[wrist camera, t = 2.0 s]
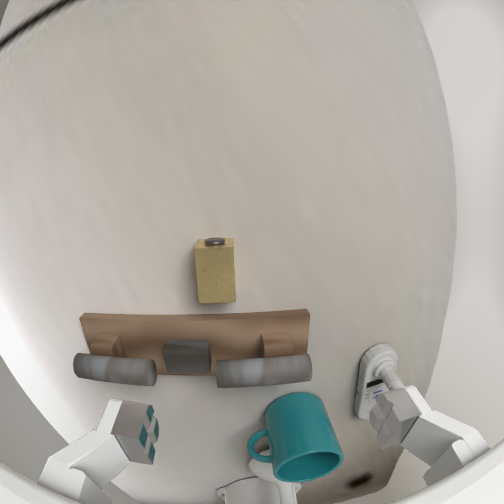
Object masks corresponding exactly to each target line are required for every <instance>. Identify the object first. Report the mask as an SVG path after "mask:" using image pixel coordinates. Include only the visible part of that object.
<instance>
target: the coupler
mask: <svg viewBox="0 0 504 504" xmlns="http://www.w3.org/2000/svg"><path fill="white" fill-rule="evenodd" d="M194 255H195V267H196V278H197V288H198V298H199V303H227V302H236V293H235V270H234V246H233V238H209V239H199V240H198V242H197V244H196V246H195V248H194Z"/></svg>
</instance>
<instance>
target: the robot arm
mask: <svg viewBox="0 0 504 504" xmlns="http://www.w3.org/2000/svg"><path fill="white" fill-rule="evenodd" d="M376 402H377V404H375V405H374V406H373V407H372V409H371V411H370V417H369V420H370V424H371V426H372V429H374V430H375V431H377V432H378V434H377V439H378V442H379V444H380V446H381V448H382V449H385V448H388V447H392V446H395V445H398V444H400V445H401V446H402V447H404V448H405V449H407V450H408V451H409V452H411V453H412V454H414V455H415V456H417V457H418V458H419V459H421V460H422V461H424V462H425V463H427V464H428V465H430V466H431V468H430V469H429V470H428V471H427V472H426V473H425V474H424V477H423V478H424V480H425V481H426V484H427V486H428V487H425V488H423V489H421V490H419V491H417V492H415V493H412V494H410V495H408V496H405V497H403V498H400V499H398V500H395V501H393V502H390V503H388V504H504V439H503V440H502V441H501V442H499V443H498V444H497V445H495V446H494V447H493V448H491V449H490V448H489V446H488V445H487V443H486V442H485V441H484V439H483V438H482V436H481V435H480V433H479V432H478V431H477V430H476V429H475V428H473V427H470V426H468V425H466V424H464V423H461V422H459V421H457V420H455V419H452V418H450V417H448V416H446V415H444V414H442V413H439V412H437V411H436V410H434V411H432V410H431V409H430V407H429V406H428V404H427V403H426V401H425V400H424V399H423V397H422V396H421V394H420V393H419V392H418V390H417V389H416V387H415V386H413V385H411V386H407V387H403V388H399V389H395V390H391V391H387V392H383V393H380V394H379V395H377V398H376ZM153 413H154V410H153V407H152V405H149V404H142V403H136V402H130V401H125V400H119V399H114V398H111V399H110V400H109V402H108V404H107V406H106V409H105V411H104V413H103V416H102V418H101V420H100V423H99V425H98V428H97V430H92V431H90V432H89V433H87V434H85V435H84V436H82V437H81V438H79V439H78V440H76V441H75V442H73V443H71V444H70V445H69V446H67V447H65V448H64V449H62V450H60V451H58V452H57V453H55V454H54V455H52V456H50V457H49V458H48V460H47V463H46V465H45V467H44V470H43V472H42V474H41V477H40V479H39V482H38V484H37V483H35V482H33V481H31V480H29V479H27V478H25V477H24V476H22V475H20V474H18V473H16V472H15V471H13V470H12V469H10V468H9V467H7V466H5V465H4V464H2V463H1V462H0V504H112V501H111V499H110V498H109V497H108V496H107V495H106V494H105V493H103V491H102V490H101V489H102V488H103V487H105V486H106V485H107V484H108V483H109V482H110V481H111V480H112V479H113V478H114V477H115V476H117V475H118V474H119V473H120V472H121V471H122V470H123V469H124V468H125V467H126V466H127V465H128V464H129V463H130V461H132V462H138V463H144V464H151V465H152V464H153V459H154V454H155V449H154V447H153V444H154V443H156V442H157V440H158V435H159V426H158V421H157V418H155V417H154V416H153ZM301 487H302V486H301V483H292V492H293V496H294V499H295V501H296V494H297V492H298V491H299V490H300V489H301ZM216 491H217V494H218V495H219V496H220V497H221V498H222V499H223V500H224V501H225V504H280V496H279V491H278V488H277V486H276V485H275V484H274V483H272V482H269V481H266V480H264V479H261V478H259V477H257V478H249V479H244V480H240V481H237V482H234V483H232V484H230V485H229V486H227V487H223V488H219V489H217V490H216ZM296 503H297V501H296Z"/></svg>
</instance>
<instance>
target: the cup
mask: <svg viewBox="0 0 504 504" xmlns="http://www.w3.org/2000/svg"><path fill="white" fill-rule="evenodd" d="M265 423H266V428H265V429H263V430H260V431H258V432H256V433H255V434H254V435H252V436H251V438H250V439H249V441H248V444H247V450H248V453H249V454H250V456H251V457H252V458H253V459H255V460H257V461H259V462H263V463H271V464H272V469H273V475H274V476H275V478H277V479H278V480H280V481H284V482H291V483H297V482H306V481H311V480H314V479H318V478H320V477H323V476H325V475H327V474H329V473H331V472H332V471H334V470H335V469H337V468H338V467H339V466H340V465H341V463H342V462H343V459H344V455H343V453H342V450H341V447H340V445H339V442H338V440H337V437H336V434H335V432H334V429H333V427H332V424H331V421H330V419H329V416H328V414H327V411H326V409H325V406H324V404H323V402H322V400H321V399H320V398H319V397H318V396H316V395H314V394H311V393H306V392H298V393H291V394H288V395H285V396H282V397H280V398H278V399H277V400H275V401H274V402H273V403H271V404H270V406H269V407H268V408H267V410H266V413H265ZM265 436H267V437H268V443H269V450H270V455H268V456H265V455H260V454H258V453H257V452H256V451H255V449H254V446H255V443H256V442H257V441H258V440H259V439H261V438H263V437H265Z"/></svg>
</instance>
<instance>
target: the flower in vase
mask: <svg viewBox="0 0 504 504" xmlns="http://www.w3.org/2000/svg"><path fill="white" fill-rule="evenodd" d="M258 454H260V455H265V456H268V455H270V450H269V449H267V450H265V451H262V452H260V453H258ZM249 469H250V470H251V472H252V473H253V474H254V475H256V476H258V477H259V478H261V479H264V480H266V481H269V482H272V483H274V484H275V485H276V486H277V488H278V491H279V496H280V504H297V503H296V501H295V499H294V496H293V492H292V483H291V482H284V481H280V480H278V479H277V478H275V476H274V475H273V469H272V464H271V463H263V462H259V461H257V460H255V459H253V458H252V459H251V461H250V462H249Z"/></svg>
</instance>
